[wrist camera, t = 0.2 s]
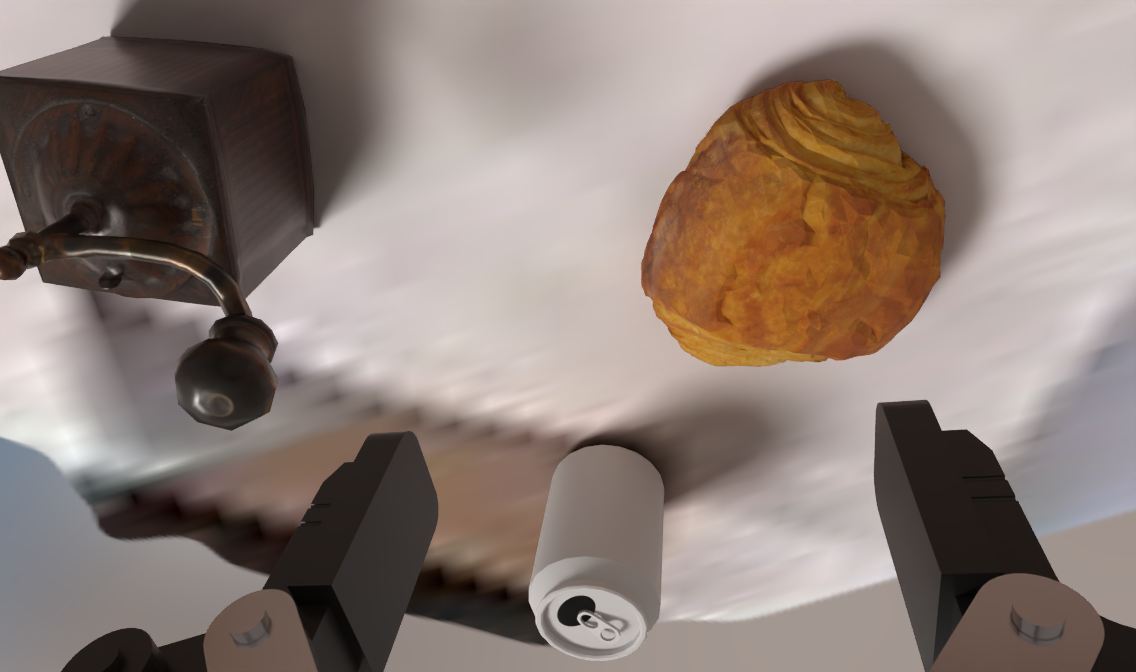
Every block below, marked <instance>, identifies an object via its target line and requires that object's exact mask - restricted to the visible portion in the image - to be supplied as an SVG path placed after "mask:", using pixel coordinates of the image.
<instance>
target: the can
mask: <svg viewBox="0 0 1136 672" xmlns="http://www.w3.org/2000/svg"><path fill="white" fill-rule="evenodd" d="M663 515H664V485H663V482H662V478H661V475H660V474H659V472H658V471H657V470H656V468H655V467H654V466H653V464H652V463H651V462H650V461H648V460H647V459H645V458H644V457H642V456H641V455H640V454H638V453H636V452H634V451H631V450H628V449H625V448H623V447H619V446H610V445H596V446H589V447H584V448H582V449H579V450H577V451H575V452H573V453H570V454H569V455H568V456H567V457H566V458H564V459H563V460H562V461H561V462H560V463H559V464H558V466H557V468H556V470H555V473H554V475H553V478H552V483H551V487H550V492H549V497H548V501H547V506H546V511H545V516H544V520H543V525H542V530H541V534H540V539H539V544H538V549H537V553H536V558H535V563H534V567H533V572H532V577H531V582H530V586H529V603H530V605H531V608H532V610H533V612H534V614H535V616H536V625H537V627H538V630H539V632H540V634H541V635H542V636H543V637H544V638H545V639H546V641H547V642H548V643H549V644H550V645H552V646H553V647H555V648H556V649H558V650H560V651H561V652H563V653H565V654H567V655H571V656H573V657H576V658H579V659H585V660H593V661H605V660H614V659H618V658H621V657H624V656H627V655H629V654H631V653H632V652H634V651H635V650H637V649H638V648H640V646H641V645H642V644H643V642H644V641H645V639H646V638H647V632H649V631H650V630H651V629H652V627H653V626H654V624H655V623H656V621H657V620H658V618H659V612H660V604H661V574H662V544H663Z"/></svg>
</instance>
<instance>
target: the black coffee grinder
mask: <svg viewBox="0 0 1136 672" xmlns="http://www.w3.org/2000/svg"><path fill="white" fill-rule="evenodd" d="M0 154H1V157H2V160H3V163H4V166H5V169H6V172H7V176H8V179H9V182H10V185H11V188H12V191H13V194H14V197H15V200H16V203H17V207H18V210H19V213H20V216H21V219H22V222H23V225H24V229H25V232H21V233H17V234H16V235H14V236H13V237H12V238H11V239H10V240H9V242H8V244H7V245H6V246H2V247H0V279H1V280H16V279H17V278H19V277H20V276H21V275H22V274H23V273H24V271H25V270H26V269H30V268H33V267H36V266H37V268H38V270H39V273H40V276H41V278H42V281H43V282H44V283H50V284H56V285H63V286H69V287H75V288H81V289H87V290H95V291H102V292H110V293H116V294H119V295H121V296H125V297H133V298H156V299H163V300H171V301H179V302H186V303H194V304H203V305H211V306H220V307H222V310H223V312H224V314H225V316H226V317H224V318H221V319H219V320H216V321H215V323H214V324H213V326H212V327H211V329H210V330H209V339H207V340H205V341H203V342H200V343H198V344H196V345H194V346H192V347H190V348H188V349H187V350H186V351H185V352H184V354H183V355H182V356H181V357H180V359H179V360H178V362H177V363H176V364H175V366H174V375H175V383H176V391H177V398H178V405H179V406H181V407H182V408H183V409H184V410H185V411H186V412H187V413H188V414H189V415H190V416H191V417H192V418H193V419H194V420H195V421H197V422H199V423H203V424H207V425H211V426H215V427H219V428H223V429H227V430H231V431H232V430H234V429H236V428H238V427H240V426H242V425H244V424H246V423H248V422H251V421H253V420H255V419H257V418H259V417H261V416H263V415H265V414H266V413H268V412H270V409H271V405H272V401H273V398H274V394H275V390H276V386H277V383H278V377H277V376H276V374H275V372H274V370H273V368H272V366H271V365H270V363H271V361H272V359H273V356H274V354H275V351H276V348H277V345H278V342H277V340H276V338H275V336H274V334H273V331H272V330H271V329H270V328H269V327H268V326H267V325H266V324H265V323H264V322H263V321H262V320H260V319H257V318H254V317H252V312H251V310H250V308H249V306H248V304H247V302H246V300H245V299H246V298H247V297H248V295H249V294H250V293H251V292H252V291H253V290H254V289H255V288H256V287H257V286H258V285H259V284H260V283H261V282H262V281H263V280H264V279H265V278H266V277H267V276H268V275H269V274H270V273H271V272H272V271H273V270H274V269H275V268H276V267H277V266H278V265H279V264H280V263H281V262H282V261H283V260H284V259H285V258H286V257H287V256H288V255H289V254H290V253H291V252H292V251H293V250H294V249H295V248H296V247H297V246H298V245H299V244H300V243H301V242H302V241H303V240H304V239H305V238H306V237H308V236H311V235H313V225H314V187H313V178H312V169H311V159H310V150H309V141H308V132H307V123H306V115H305V108H304V104H303V100H302V96H301V92H300V88H299V84H298V80H297V76H296V72H295V68H294V64H293V60H292V57H290V56H287V55H283V54H280V53H276V52H273V51H269V50H266V49H262V48H253V47H245V46H236V45H228V44H217V43H207V42H196V41H185V40H168V39H149V38H130V37H111V36H107V37H101V38H100V39H98V40H95V41H93V42H90V43H87V44H84V45H81V46H78V47H75V48H72V49H69V50H66V51H62V52H59V53H56V54H53V55H49V56H46V57H43V58H40V59H36V60H33V61H30V62H27V63H24V64H21V65H17V66H14V67H11V68H8V69H5V70H2V71H0Z"/></svg>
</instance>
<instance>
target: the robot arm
mask: <svg viewBox="0 0 1136 672" xmlns="http://www.w3.org/2000/svg"><path fill="white" fill-rule="evenodd" d="M874 485H875V494H876V501H877V507H878V511H879V515H880V518H881V522H882V525H883V529H884V532H885V535H886V539H887V542H888V546H889V549H890V553H891V556H892V560H893V563H894V566H895V570H896V573H897V577H898V580H899V583H900V586H901V590H902V594H903V597H904V601H905V604H906V608H907V611H908V615H909V618H910V621H911V625H912V628H913V632H914V635H915V639H916V642H917V645H918V649H919V652H920V655H921V659H922V662H923V666H924V670H925V672H1136V629H1135V628H1132V627H1128V626H1124V625H1121V624H1118V623H1116V622H1113V621H1111V620H1108V619H1106V618H1104V617H1102V616H1100V615H1099V614H1098V613H1097V611H1096V610H1095V609H1094V607H1093V606H1092V605H1091V604H1090V603H1089V602H1088V601H1087V600H1086V599H1085V598H1084V597H1083V596H1081V595H1080V594H1079V593H1078V592H1076V591H1074V590H1073V589H1071V588H1070V587H1068V586H1066V585H1064V584H1062V583H1060V582H1059V580H1058V578H1057V577H1056V575H1055V573H1054V571H1053V569H1052V567H1051V565H1050V563H1049V561H1048V560H1047V557H1046V555H1045V553H1044V551H1043V549H1042V547H1041V545H1040V544H1039V542H1038V540H1037V538H1036V536H1035V534H1034V532H1033V530H1032V528H1031V526H1030V524H1029V522H1028V520H1027V518H1026V516H1025V514H1024V512H1023V510H1022V508H1021V506H1020V504H1019V502H1018V501H1016V499H1015V494H1014V492H1013V490H1012V488H1011V486H1010V485H1009V483H1008V481H1007V480H1005V475H1004V473H1003V471H1002V469H1001V467H1000V465H999V463H998V461H997V459H996V457H995V455H994V453H993V451H992V450H991V449H990V448H989V447H987V446H986V445H985V444H984V443H983V442H981V441H980V440H979V439H978V438H977V437H975V436H974V435H973V434H972V433H970V432H969V431H968V430H967V429H966V430H948V431H942V430H941V428H940V426H939V423H938V421H937V419H936V416H935V414H934V412H933V410H932V407H931V405H930V403H929V402H928V401H927V400H916V401H900V402H884V403H878V404H877V408H876V425H875V458H874ZM437 520H438V499H437V494H436V491H435V488H434V485H433V482H432V479H431V477H430V474H429V471H428V468H427V465H426V462H425V459H424V456H423V454H422V451H421V448H420V445H419V442H418V440H417V437H416V436H415V434H414V433H413V432H411V431H404V432H388V433H373V434H370V435H369V436H368V437H367V438H366V440H365V442H364V444H363V446H362V447H361V449H360V451H359V453H358V455H357V457H356V459H355V460H354V462H346V463H343V464H342V465H341V466H340V467H339V468H338V469H337V470H336V471H335V472H334V473H333V474H332V475H331V476H330V477H328V478H327V479H326V480H325V481H324V482H323V484H322V485H321V487H320V489H319V491H318V492H317V494H316V496H315V498H314V499H313V501H312V503H311V509H308V510H307V512H306V513H305V515H304V517H303V519H302V520H301V526H300V527H297V529H296V531H295V533H294V534H293V536H292V538H291V540H290V542H289V543H288V545H287V547H286V549H285V550H284V552H283V554H282V556H281V557H280V559H279V561H278V563H277V564H276V566H275V568H274V570H273V571H272V573H271V575H270V577H269V578H268V580H267V582H266V584H265V586H264V587H263V589H262V590H260V591H256V592H253V593H250V594H248V595H245V596H243V597H241V598H240V599H238V600H236V601H234V602H233V603H232V604H230V605H229V606H227V607H226V608H225V609H224V610H223V611H222V612H221V613H220V614H219V615H218V616H217V617H216V618H215V619H214V621H213V622H212V623H211V625H210V627H209V628H208V630H207V632H206V633H205V634H202V635H198V636H195V637H192V638H188V639H185V640H182V641H178V642H175V643H171V644H168V645H164V646H161V647H157V646H156V644H155V643H154V641H153V640H152V638H151V637H150V636H149V635H148V633H146V632H145V631H143V630H141V629H137V628H126V629H120V630H117V631H113V632H111V633H108V634H106V635H104V636H102V637H100V638H98V639H96V640H94V641H93V642H91V643H90V644H88V645H87V646H86V647H84V648H83V649H82V650H80V651H79V652H78V653H77V654H76V655H75V656H74V657H73V658H72V659H71V660H70V661H69V662H68V663H67V664H66V666H65V667H64V668H63V670H62V671H61V672H383V671H384V668H385V666H386V663H387V660H388V657H389V654H390V652H391V649H392V646H393V643H394V641H395V638H396V636H397V633H398V630H399V627H400V625H401V621H402V619H403V616H404V614H405V611H406V608H407V605H408V603H409V600H410V597H411V595H412V592H413V589H414V586H415V584H416V581H417V578H418V575H419V573H420V570H421V567H422V564H423V562H424V559H425V556H426V554H427V551H428V548H429V545H430V543H431V540H432V537H433V534H434V532H435V529H436V526H437Z"/></svg>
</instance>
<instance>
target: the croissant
mask: <svg viewBox="0 0 1136 672" xmlns="http://www.w3.org/2000/svg"><path fill="white" fill-rule="evenodd" d="M944 206H945V201H944V199H943V197H942V196H941V194H940V192H939V191H938V190H936V189H935V188H934V185H933V183H932V180H931V178H930V174H929V170H928V169H927V168H926V167H924V166H922V167H920V166H919V165H918V164H917V163H916V162H915V161H914V160H913V159H912V158H911V157H909V156H908V155H906V154H905V153H904V152H902V151H901V150H900V144H899V143H898V141H897V139H896V137H895V135H894V133H893V131H891V128H890V124H885V123H884V122H883V121H882V120H881V118H880V115H879V113H878V112H877V111H876V110H875V109H874V108H872V107H871V106H870V105H868V104H866V103H864V102H862V101H860V100H855V99H848V98H846V93H845V91H844V89H843V87H842V86H841V85H840V84H839V83H838V82H836V81H833V80H830V79H827V80H825V81H812V82H808V83H805V82H803V81H799V82H790V83H784V84H781V85H779V86H778V87H776V88H773V89H767V90H764V91H763V92H761V93H759V94H758V95H755V96H753V97H750V98H748V99H746V100H742V101H740V102H739V103H737V104H735V105H733V106H731V107H730V108H729V109H728V110H727V111H726V112H725V113H724V114H723V115H722V116H721V117H720V118H719V119H718V120H717V121H716V122H715V123H714V125H713V126H712V128H711V129H710V130H709V132H708V133H707V135H706V137H705V138H704V139H703V140H702V141H701V142H700V143H699V144H698V146H697V147H696V151H695V154H694V155H693V157H692V159H691V161H690V163H689V165H688V166H687V168H686V170H685V171H682V172H680V173H679V174H678V175H677V176H676V178H675V179H674V180H673V182H672V183H671V184H670V186H669V187H668V189H667V191H666V193H665V195H664V197H663V199H662V201H661V204H660V207H659V210H658V213H657V216H656V219H655V222H654V225H653V230H652V233H651V235H650V238H649V240H648V243H647V246H646V249H645V253H644V258H643V260H642V275H641V284H642V287H643V290H644V292H645V295H646V296H648V297H650V298H651V299H652V301H653V308H654V310H655V313H656V316H657V317H658V318H659V319H661V320H662V321H663V322H664V323H665V324H666V325H667V326H668V330H669V332H670V333H671V335H672V336H673V337H674V338H675V339H677V340H678V342H679V344H680V346H681V348H682V349H683V350H684V351H685V352H687V353H689V354H691V355H692V356H694V357H696V358H698V359H700V360H702V361H704V362H707V363H708V364H711V365H714V366H759V367H760V366H769V365H775V364H779V363H782V362H785V361H786V360H790V361H801V362H803V361H811V362H821V361H826V360H827V359H828V358H831V359H834V360H846V359H849V358H852V357H856V356H864V355H870V354H873V353H876V352H877V351H878V350H880V349H881V348H882V347H884V346H885V345H886V344H887V343H888V342H890V341H891V340H892V339H893V338H894V337H895V335H896V334H897V333H899V332H900V331H901V330H902V329H903V328H904V327H905V326H906V325H908V324H909V323H910V322H911V321H912V320H913V318H914V317H915V316H916V314H917V313H918V311H919V310H920V308H921V307H922V305H923V303H924V302H925V300H926V298H927V296H928V295H929V293H930V291H931V289H932V287H933V285H934V284H935V283H936V282H937V280H938V279H939V278H940V254H941V252H942V249H943V241H944V222H945V210H944Z"/></svg>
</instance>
